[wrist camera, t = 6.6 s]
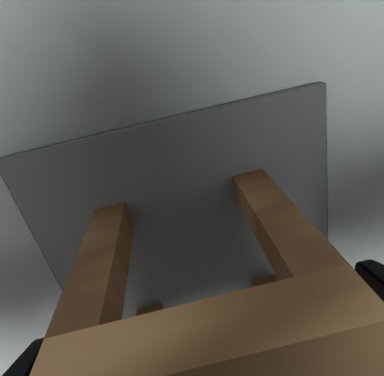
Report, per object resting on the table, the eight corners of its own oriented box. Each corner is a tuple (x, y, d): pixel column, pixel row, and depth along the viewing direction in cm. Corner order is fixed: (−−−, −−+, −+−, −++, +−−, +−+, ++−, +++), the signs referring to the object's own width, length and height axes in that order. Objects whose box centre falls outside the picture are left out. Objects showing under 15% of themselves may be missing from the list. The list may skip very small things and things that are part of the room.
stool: (262, 168, 10) (397, 317, 4) (277, 293, 12) (377, 491, 7) (94, 209, 10) (14, 413, 4) (143, 326, 12) (132, 552, 7)
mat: (319, 81, 9) (325, 83, 9) (324, 311, 13) (328, 318, 13) (0, 157, 9) (-7, 161, 9) (108, 363, 13) (106, 372, 13)
